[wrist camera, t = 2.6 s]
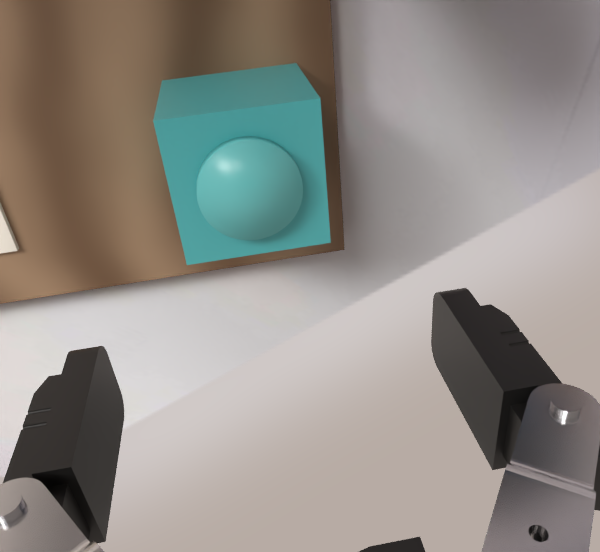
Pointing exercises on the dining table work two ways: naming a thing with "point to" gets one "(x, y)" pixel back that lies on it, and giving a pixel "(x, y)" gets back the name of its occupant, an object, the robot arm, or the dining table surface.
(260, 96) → the teal stud brick
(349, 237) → the dining table surface
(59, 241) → the board
